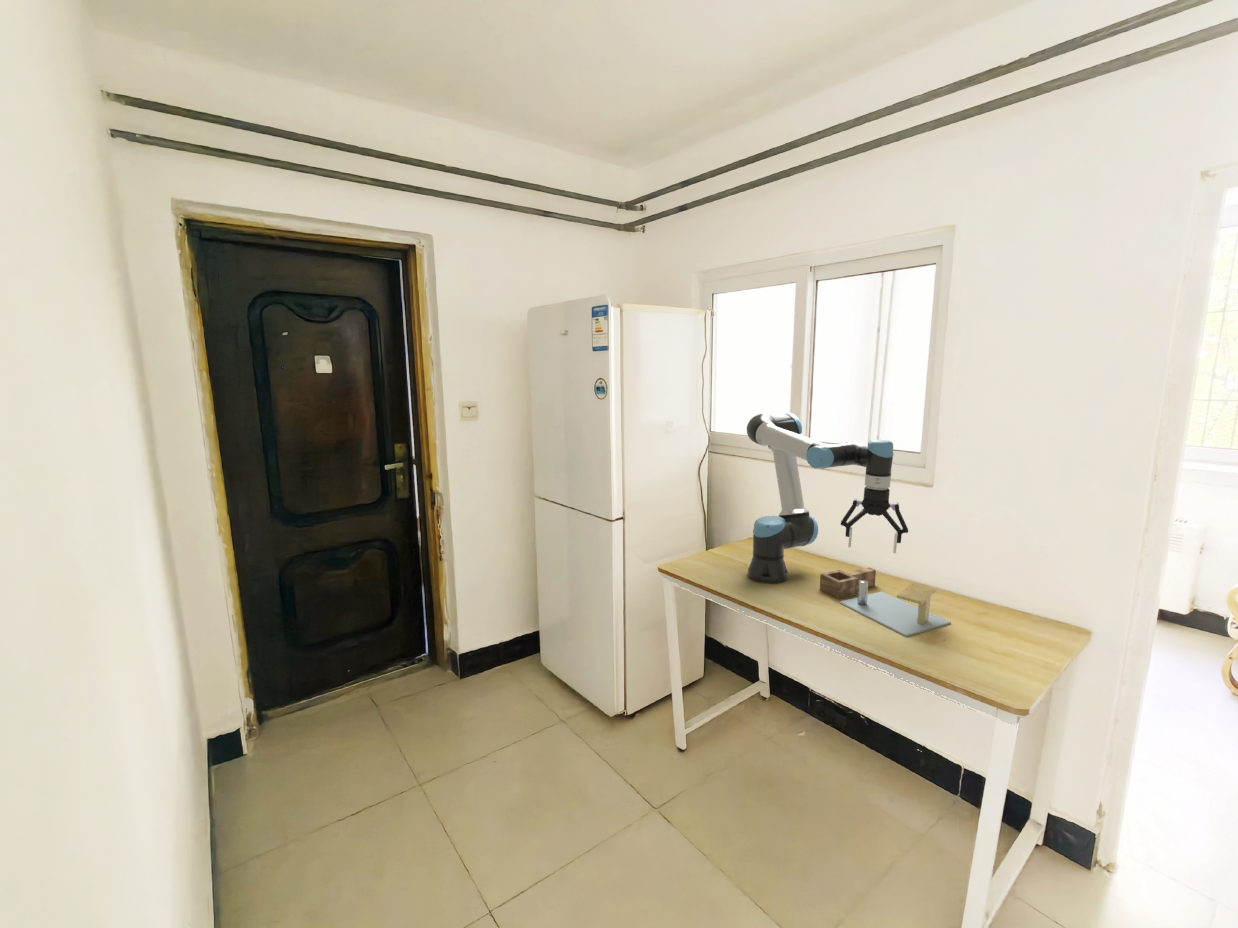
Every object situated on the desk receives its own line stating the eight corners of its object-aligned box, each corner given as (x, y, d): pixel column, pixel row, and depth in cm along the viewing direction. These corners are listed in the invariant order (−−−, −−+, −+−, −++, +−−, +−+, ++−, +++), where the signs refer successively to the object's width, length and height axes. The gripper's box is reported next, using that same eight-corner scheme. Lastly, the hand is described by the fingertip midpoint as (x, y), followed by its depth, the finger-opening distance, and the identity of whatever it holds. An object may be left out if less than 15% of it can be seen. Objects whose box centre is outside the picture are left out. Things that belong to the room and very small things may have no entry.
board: (839, 603, 184) (839, 601, 184) (881, 592, 192) (881, 591, 191) (906, 636, 160) (906, 634, 160) (950, 623, 168) (950, 621, 168)
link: (838, 598, 187) (839, 582, 186) (819, 589, 196) (820, 573, 195) (881, 588, 196) (882, 572, 195) (861, 579, 204) (862, 564, 203)
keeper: (894, 624, 168) (897, 595, 166) (909, 611, 177) (911, 583, 175) (918, 631, 163) (921, 601, 161) (932, 618, 172) (935, 589, 170)
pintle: (855, 604, 183) (856, 581, 181) (861, 602, 184) (863, 579, 182) (862, 607, 180) (863, 584, 178) (868, 606, 181) (870, 582, 180)
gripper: (835, 486, 176) (830, 547, 180) (921, 493, 165) (914, 558, 169) (836, 481, 182) (832, 540, 186) (919, 488, 172) (913, 550, 176)
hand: (871, 548), depth 178 cm, fingers open, 13 cm apart
